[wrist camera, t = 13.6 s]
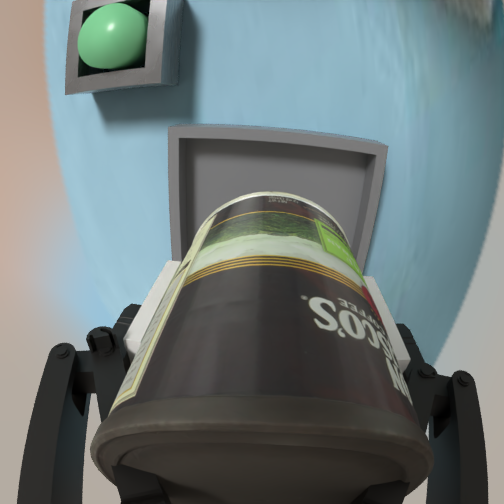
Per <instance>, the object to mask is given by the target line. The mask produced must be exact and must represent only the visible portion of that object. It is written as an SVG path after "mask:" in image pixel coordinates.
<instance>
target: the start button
mask: <svg viewBox="0 0 504 504" xmlns="http://www.w3.org/2000/svg"><path fill="white" fill-rule="evenodd" d="M148 20H149V17H148V16H146V15H144V14H142V13H141V12H139V11H137V10H135V9H133V8H132V7H130V6H128V5H126V4H122V3H112V4H108V5H105V6H103V7H101V8H99V9H97V10H96V11H95V12H93V13H92V14H91V15H90V16H89V17H88V18H87V20H86V21H85V23H84V24H83V26H82V28H81V30H80V33H79V36H78V52H79V55H80V57H81V58H82V60H83V61H84V62H85V63H86V64H88V65H89V66H92V67H95V68H104V69H114V70H128V69H136V68H139V67H141V66H142V65H144V64H145V59H146V44H147V31H148Z"/></svg>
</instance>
